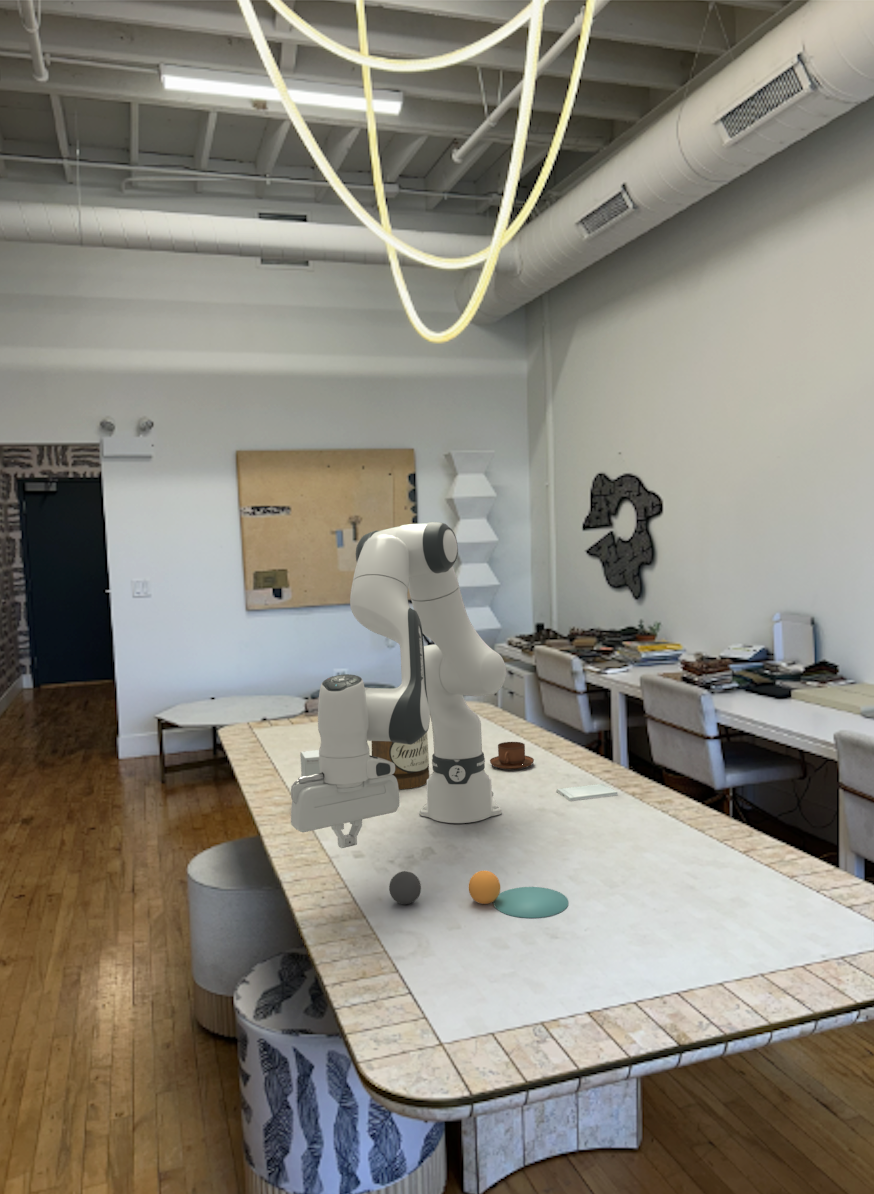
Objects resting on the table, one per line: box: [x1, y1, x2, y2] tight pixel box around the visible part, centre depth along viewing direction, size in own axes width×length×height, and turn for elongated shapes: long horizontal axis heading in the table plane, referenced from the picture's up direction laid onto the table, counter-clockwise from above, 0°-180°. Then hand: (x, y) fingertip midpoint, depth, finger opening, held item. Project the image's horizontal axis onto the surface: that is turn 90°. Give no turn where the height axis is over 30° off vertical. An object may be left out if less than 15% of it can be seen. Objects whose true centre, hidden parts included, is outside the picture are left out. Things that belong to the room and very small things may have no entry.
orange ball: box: [467, 870, 501, 905], centre depth 162 cm, size 6×6×6 cm
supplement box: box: [299, 749, 320, 777], centre depth 224 cm, size 7×7×13 cm
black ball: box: [388, 870, 422, 905], centre depth 163 cm, size 6×6×6 cm
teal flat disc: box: [493, 886, 569, 919], centre depth 161 cm, size 13×13×1 cm
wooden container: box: [371, 731, 430, 790], centre depth 240 cm, size 15×15×22 cm
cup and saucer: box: [489, 741, 535, 771], centre depth 253 cm, size 12×12×6 cm
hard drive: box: [556, 783, 618, 802], centre depth 225 cm, size 2×8×12 cm
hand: (347, 846), depth 163 cm, fingers closed
